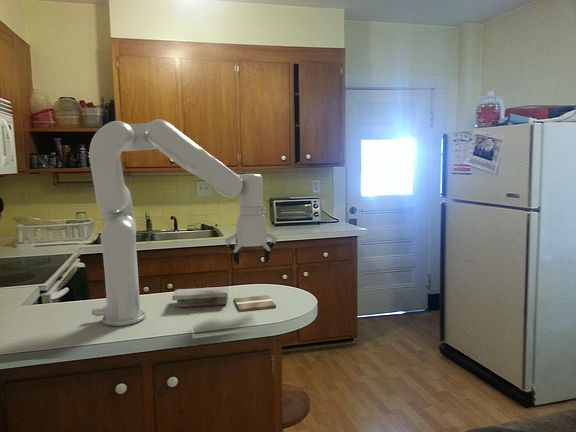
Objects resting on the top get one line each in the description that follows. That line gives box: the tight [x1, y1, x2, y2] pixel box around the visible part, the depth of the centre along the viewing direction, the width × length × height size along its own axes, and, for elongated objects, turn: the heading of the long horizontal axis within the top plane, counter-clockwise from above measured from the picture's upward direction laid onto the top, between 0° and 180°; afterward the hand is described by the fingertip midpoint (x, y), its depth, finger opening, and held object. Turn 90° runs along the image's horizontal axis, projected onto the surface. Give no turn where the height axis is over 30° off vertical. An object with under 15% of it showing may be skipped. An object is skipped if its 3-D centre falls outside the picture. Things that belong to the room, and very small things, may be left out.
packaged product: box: [171, 286, 229, 308], centre depth 149 cm, size 18×5×10 cm
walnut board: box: [233, 294, 277, 312], centre depth 149 cm, size 12×12×1 cm
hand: (251, 263), depth 147 cm, fingers open, 9 cm apart
